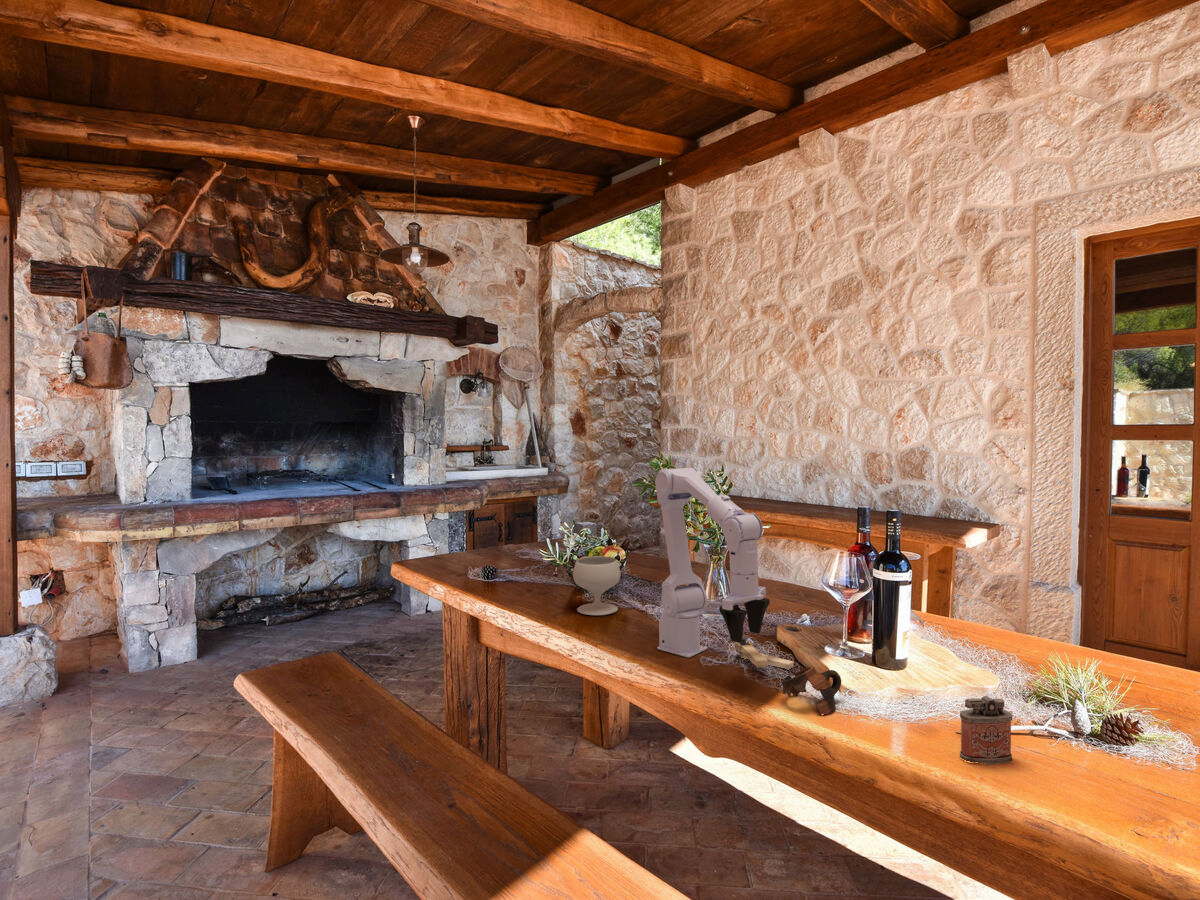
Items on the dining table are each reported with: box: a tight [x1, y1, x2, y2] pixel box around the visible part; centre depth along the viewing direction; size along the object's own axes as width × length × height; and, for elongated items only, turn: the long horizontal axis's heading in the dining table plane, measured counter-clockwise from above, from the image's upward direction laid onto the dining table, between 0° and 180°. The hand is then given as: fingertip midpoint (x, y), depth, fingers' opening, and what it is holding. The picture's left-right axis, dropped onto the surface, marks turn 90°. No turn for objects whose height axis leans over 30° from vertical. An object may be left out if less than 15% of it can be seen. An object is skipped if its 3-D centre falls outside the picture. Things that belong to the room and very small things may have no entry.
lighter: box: [959, 695, 1013, 765], centre depth 105 cm, size 8×3×10 cm, turn 92°
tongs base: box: [735, 634, 795, 671], centre depth 148 cm, size 14×3×5 cm, turn 47°
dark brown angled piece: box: [780, 665, 842, 715], centre depth 127 cm, size 12×10×8 cm
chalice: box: [572, 555, 621, 616], centre depth 191 cm, size 14×14×15 cm
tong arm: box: [734, 640, 768, 669], centre depth 146 cm, size 12×4×1 cm, turn 7°
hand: (745, 637), depth 136 cm, fingers open, 7 cm apart
